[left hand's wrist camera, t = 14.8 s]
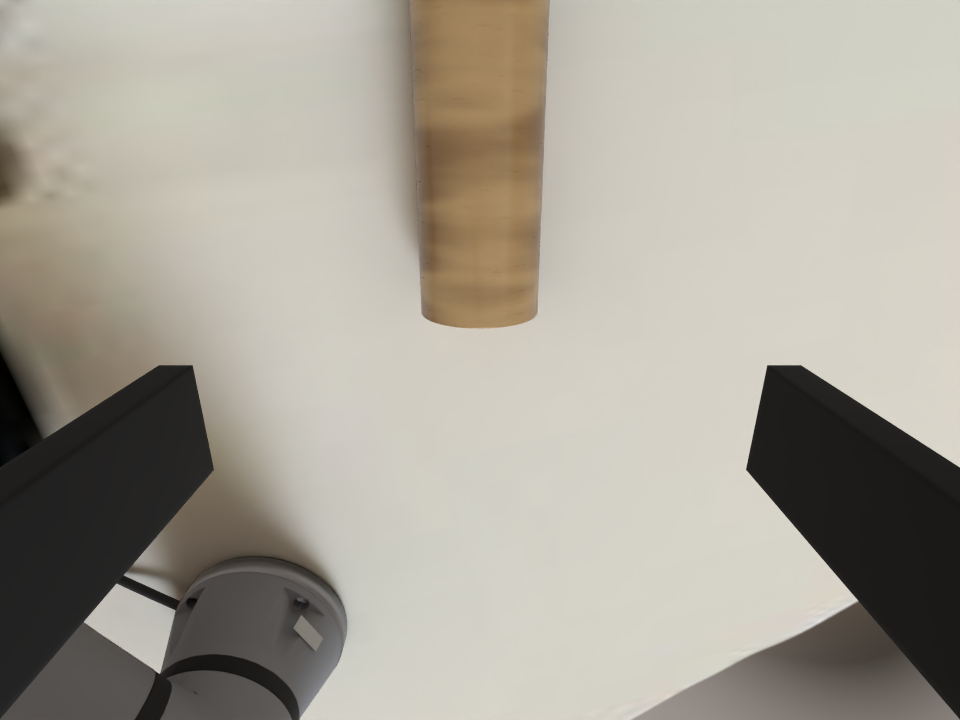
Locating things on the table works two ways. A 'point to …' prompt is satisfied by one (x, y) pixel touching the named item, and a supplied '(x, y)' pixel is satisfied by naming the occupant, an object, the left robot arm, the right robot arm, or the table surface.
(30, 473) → the left robot arm
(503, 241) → the brown cylinder
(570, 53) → the table surface
